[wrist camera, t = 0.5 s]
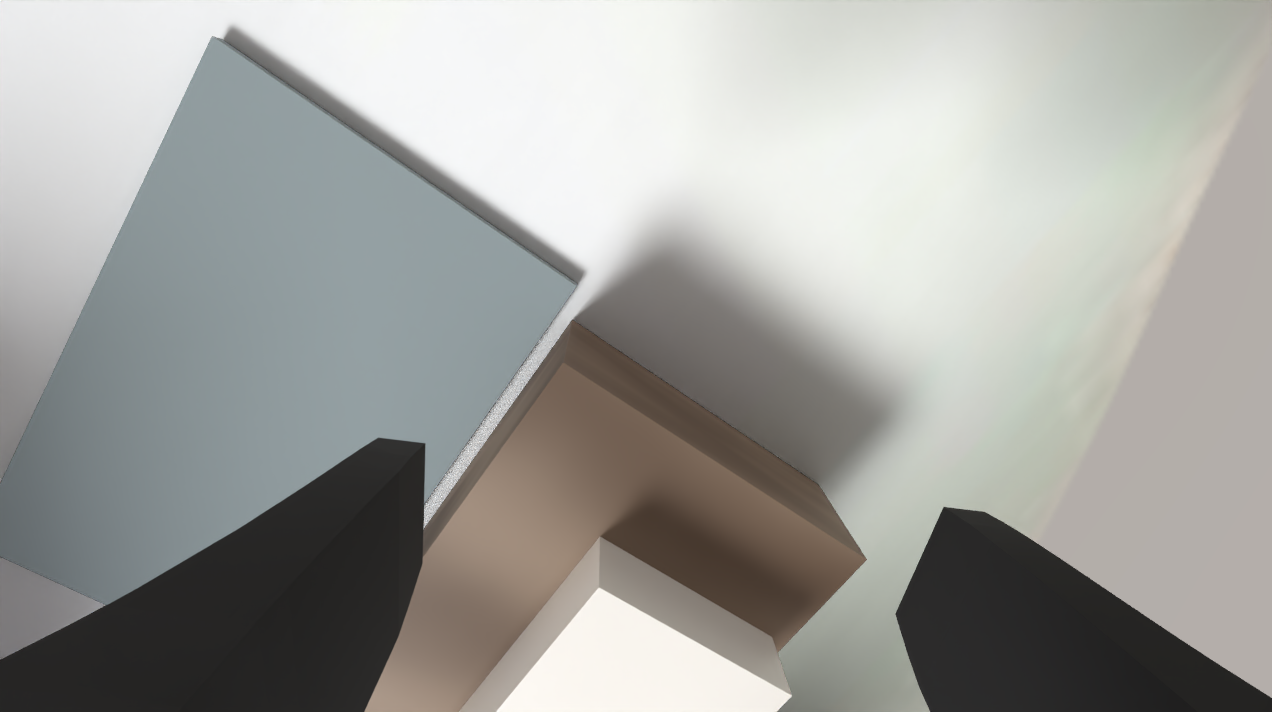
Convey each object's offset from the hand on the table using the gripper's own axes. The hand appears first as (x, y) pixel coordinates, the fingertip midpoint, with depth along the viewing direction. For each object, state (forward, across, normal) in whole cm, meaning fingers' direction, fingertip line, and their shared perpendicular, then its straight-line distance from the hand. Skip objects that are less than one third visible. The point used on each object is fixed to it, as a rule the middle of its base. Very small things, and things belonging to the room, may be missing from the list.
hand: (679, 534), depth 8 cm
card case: (+6, 0, +11) cm, 12 cm away
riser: (+10, +1, +10) cm, 14 cm away
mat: (+10, +11, +6) cm, 16 cm away
